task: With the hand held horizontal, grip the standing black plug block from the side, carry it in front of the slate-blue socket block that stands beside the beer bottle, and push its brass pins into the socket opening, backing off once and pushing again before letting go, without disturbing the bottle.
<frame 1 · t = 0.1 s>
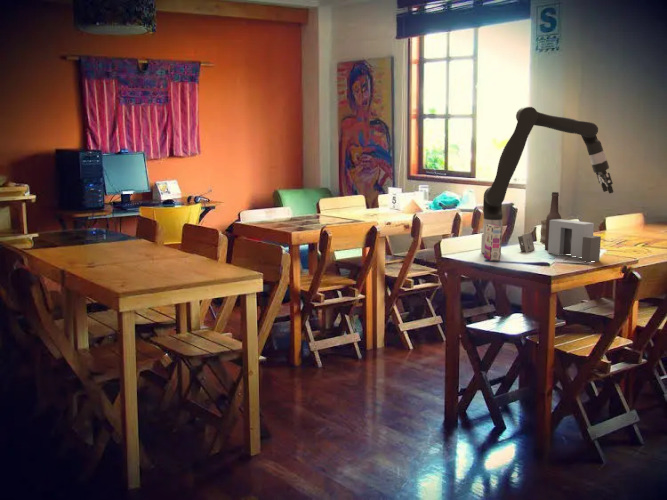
hand: (608, 192, 387), 31 cm above the table, tool tilted 20°, fingers open, 8 cm apart
candy bar box: (492, 259, 375), on the table
electrical switch: (525, 251, 401), on the table
socket: (569, 255, 387), on the table
beer bottle: (552, 250, 405), on the table
plug: (590, 261, 371), on the table
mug: (554, 243, 428), on the table
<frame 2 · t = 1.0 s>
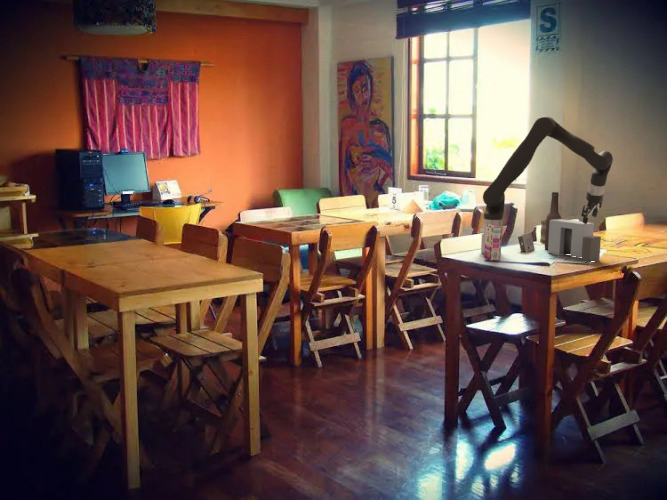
hand: (589, 219, 380), 19 cm above the table, tool tilted 25°, fingers open, 8 cm apart
nothing on the table moved.
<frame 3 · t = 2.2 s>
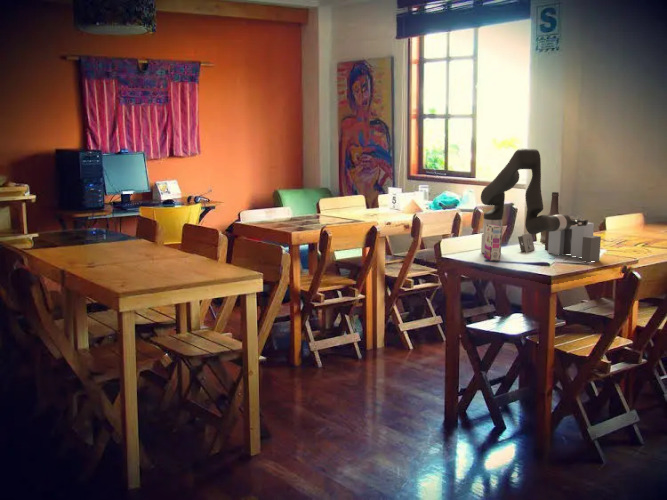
hand: (578, 221, 361), 20 cm above the table, tool horizontal, fingers open, 8 cm apart
nothing on the table moved.
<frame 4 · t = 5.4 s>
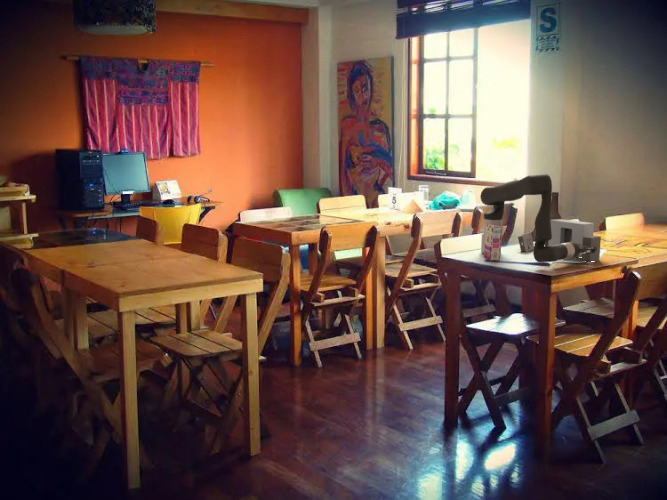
hand: (587, 247, 368), 7 cm above the table, tool horizontal, fingers open, 8 cm apart
nothing on the table moved.
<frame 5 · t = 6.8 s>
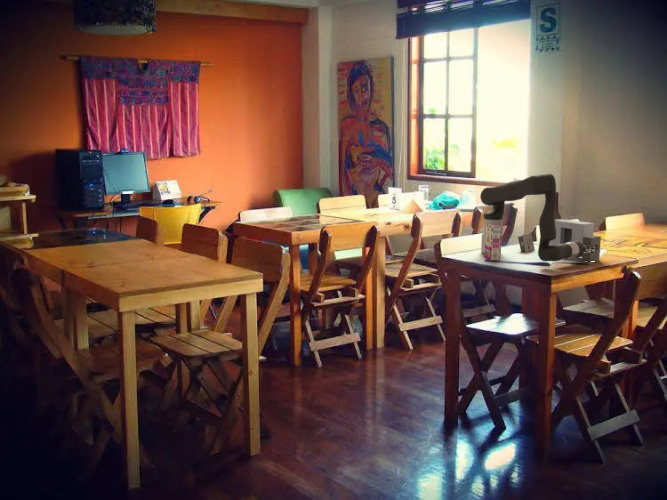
hand: (592, 246, 371), 7 cm above the table, tool horizontal, fingers closed on plug, 4 cm apart
plug: (590, 261, 371), on the table, touching gripper
everything else where it was.
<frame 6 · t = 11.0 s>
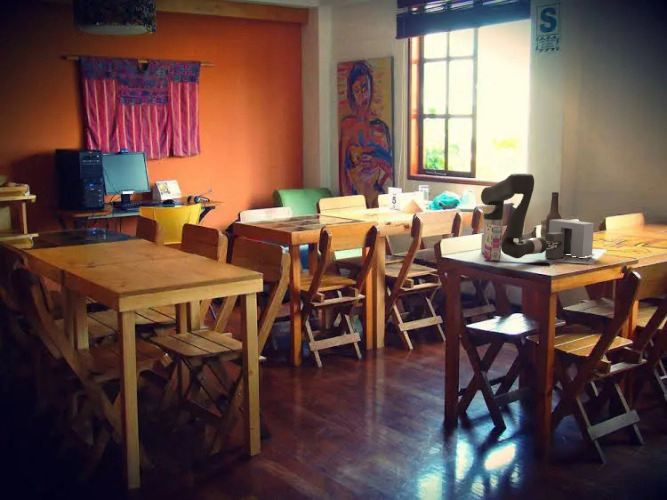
hand: (556, 242, 379), 7 cm above the table, tool horizontal, fingers closed on plug, 4 cm apart
plug: (553, 257, 379), on the table, touching gripper
everything else where it was.
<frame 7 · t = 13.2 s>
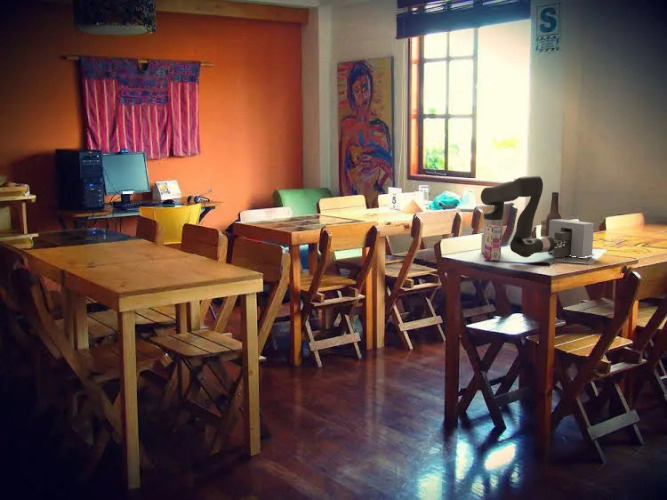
hand: (564, 241, 383), 7 cm above the table, tool horizontal, fingers closed on plug, 4 cm apart
plug: (561, 256, 383), on the table, touching gripper
everything else where it was.
when the fingers open (7 cm above the table, at t = 13.7 s): plug stays where it is, on the table.
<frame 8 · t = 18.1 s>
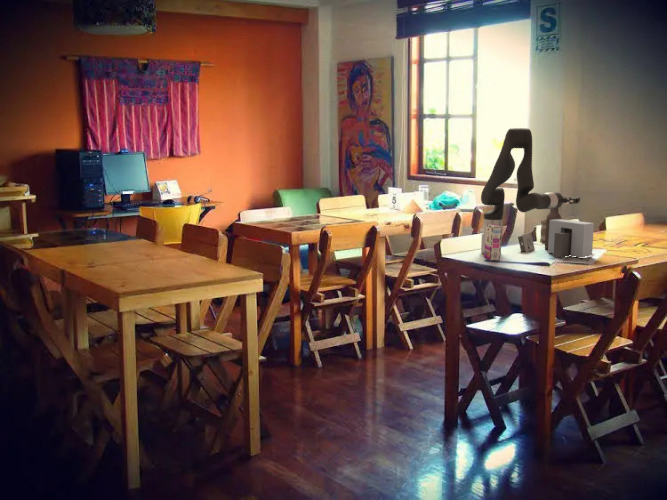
hand: (571, 198, 365), 30 cm above the table, tool horizontal, fingers open, 8 cm apart
plug: (562, 256, 384), on the table
everything else where it was.
at the end: plug 0.1 cm from the target spot on the table beside the socket, on the table; the gripper is holding nothing; beer bottle tilted 0° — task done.
